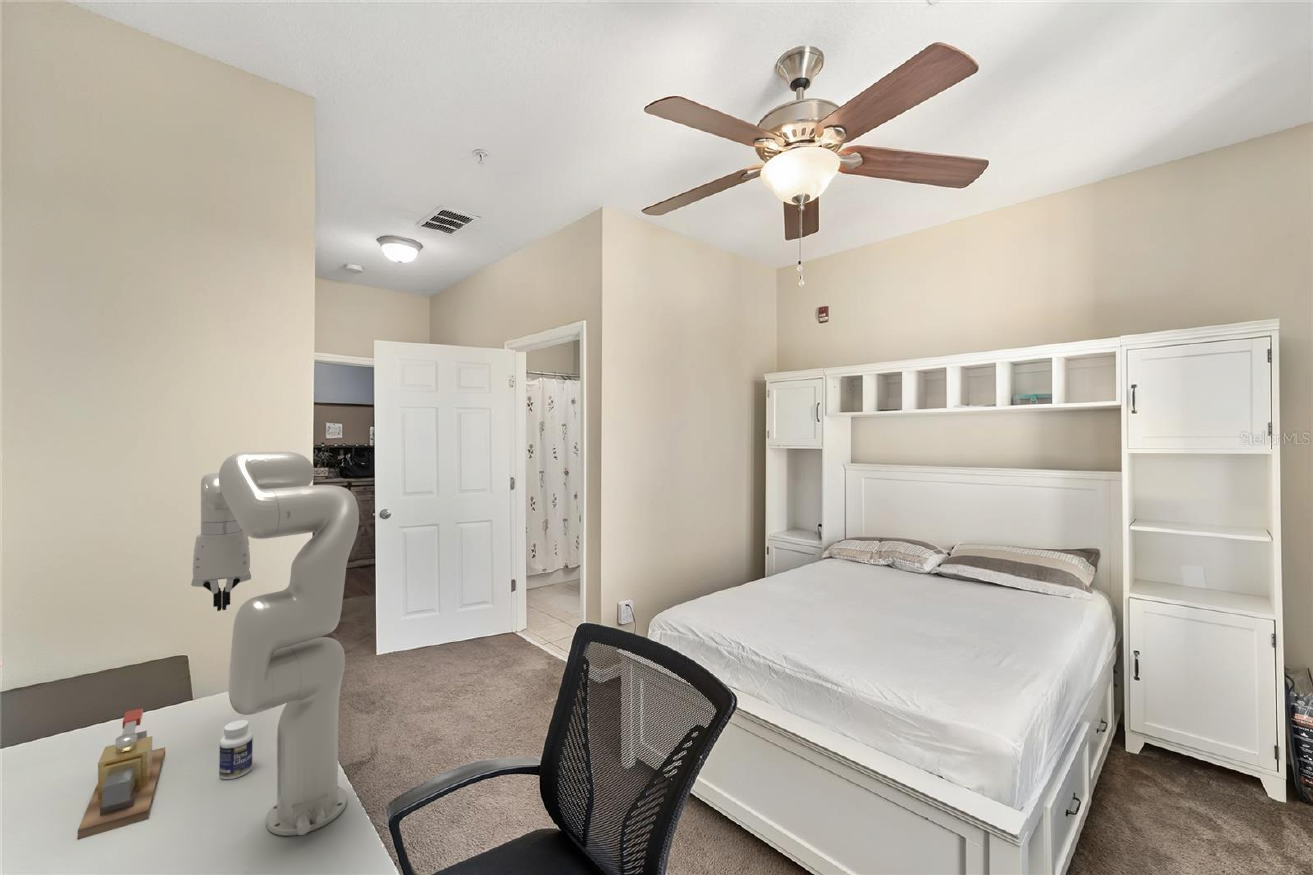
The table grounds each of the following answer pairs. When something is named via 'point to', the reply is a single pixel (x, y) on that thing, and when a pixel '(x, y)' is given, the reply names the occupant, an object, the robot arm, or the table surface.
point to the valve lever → (129, 730)
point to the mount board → (138, 812)
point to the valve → (124, 774)
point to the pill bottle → (235, 750)
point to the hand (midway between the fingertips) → (221, 608)
